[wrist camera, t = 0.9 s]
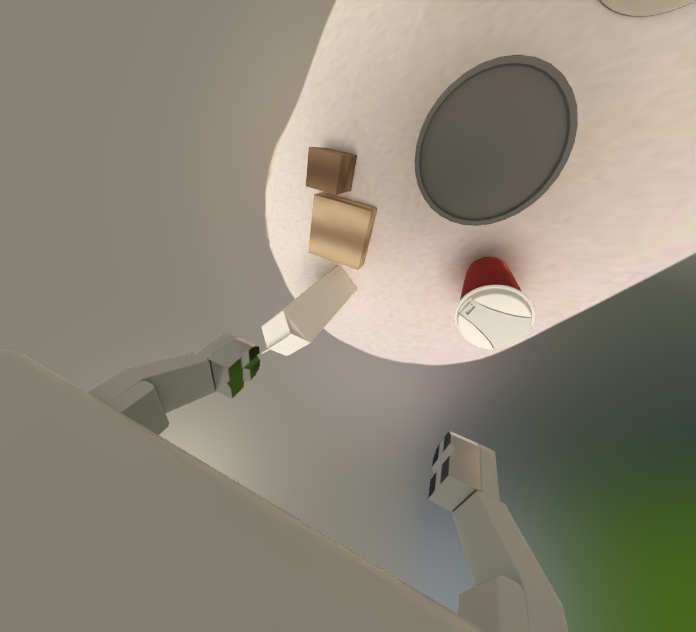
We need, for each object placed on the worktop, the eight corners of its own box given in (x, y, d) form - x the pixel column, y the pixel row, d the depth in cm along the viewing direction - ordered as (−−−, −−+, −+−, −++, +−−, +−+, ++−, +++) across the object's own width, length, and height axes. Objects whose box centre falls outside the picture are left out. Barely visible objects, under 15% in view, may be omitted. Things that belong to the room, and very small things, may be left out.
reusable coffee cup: (413, 175, 38) (386, 183, 26) (476, 68, 30) (479, 11, 18) (485, 223, 37) (491, 253, 26) (567, 126, 30) (631, 106, 18)
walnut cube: (327, 148, 40) (309, 146, 36) (357, 155, 39) (341, 155, 35) (323, 183, 43) (305, 186, 39) (350, 190, 42) (335, 194, 38)
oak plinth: (322, 192, 44) (314, 194, 42) (376, 208, 42) (371, 211, 40) (316, 247, 50) (308, 252, 48) (363, 264, 48) (358, 269, 45)
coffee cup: (448, 282, 44) (439, 328, 32) (481, 239, 39) (485, 275, 27) (492, 308, 43) (500, 365, 31) (532, 267, 38) (559, 318, 26)
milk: (357, 288, 51) (300, 357, 34) (337, 302, 55) (275, 370, 37) (338, 263, 50) (268, 321, 32) (318, 279, 53) (246, 339, 36)
